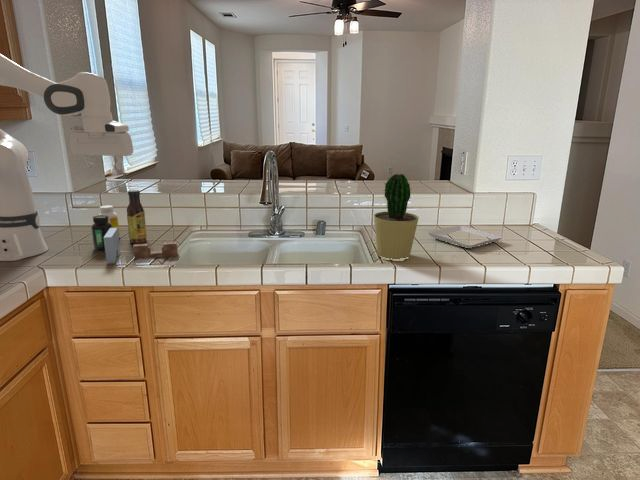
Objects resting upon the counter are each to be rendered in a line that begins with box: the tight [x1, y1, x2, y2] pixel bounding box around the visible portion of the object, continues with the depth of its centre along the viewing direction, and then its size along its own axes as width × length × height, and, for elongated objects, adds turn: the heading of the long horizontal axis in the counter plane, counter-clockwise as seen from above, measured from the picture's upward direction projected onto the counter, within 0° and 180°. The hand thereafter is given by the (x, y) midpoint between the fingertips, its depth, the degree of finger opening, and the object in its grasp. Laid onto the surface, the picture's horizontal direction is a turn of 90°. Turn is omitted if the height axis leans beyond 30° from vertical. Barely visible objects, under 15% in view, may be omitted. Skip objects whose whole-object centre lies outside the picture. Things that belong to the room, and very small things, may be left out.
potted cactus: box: [373, 173, 419, 259], centre depth 150 cm, size 15×15×30 cm
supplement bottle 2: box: [90, 214, 112, 252], centre depth 156 cm, size 7×7×12 cm
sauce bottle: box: [126, 189, 148, 244], centre depth 164 cm, size 6×6×20 cm
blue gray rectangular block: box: [103, 228, 121, 265], centre depth 147 cm, size 2×12×9 cm, turn 16°
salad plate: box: [427, 225, 503, 249], centre depth 173 cm, size 21×21×3 cm
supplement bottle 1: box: [98, 205, 121, 238], centre depth 168 cm, size 7×7×13 cm
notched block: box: [132, 241, 179, 260], centre depth 149 cm, size 14×2×4 cm, turn 106°
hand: (104, 169), depth 143 cm, fingers open, 8 cm apart
